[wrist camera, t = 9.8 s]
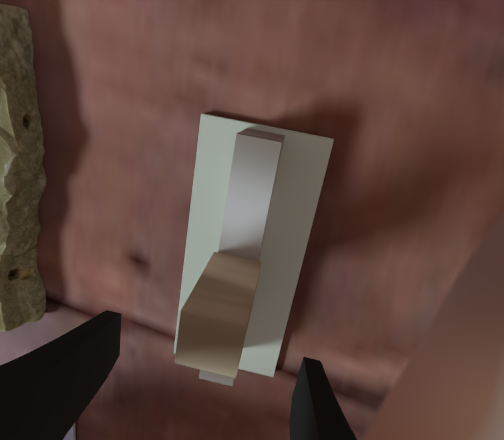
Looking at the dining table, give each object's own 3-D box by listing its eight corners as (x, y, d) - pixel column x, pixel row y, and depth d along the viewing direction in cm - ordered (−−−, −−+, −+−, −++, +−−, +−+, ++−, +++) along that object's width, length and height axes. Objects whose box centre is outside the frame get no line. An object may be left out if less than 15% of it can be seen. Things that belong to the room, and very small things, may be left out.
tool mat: (273, 371, 23) (273, 377, 23) (176, 347, 24) (173, 352, 23) (333, 138, 18) (334, 139, 17) (203, 113, 18) (201, 114, 18)
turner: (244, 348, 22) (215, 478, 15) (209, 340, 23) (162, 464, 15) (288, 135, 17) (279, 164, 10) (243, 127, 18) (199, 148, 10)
